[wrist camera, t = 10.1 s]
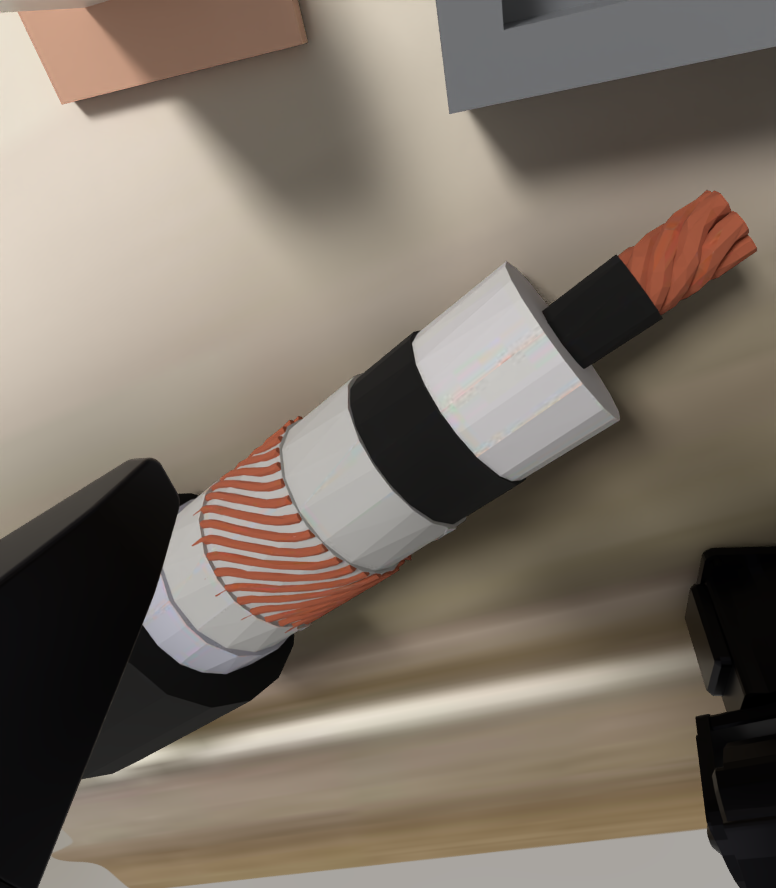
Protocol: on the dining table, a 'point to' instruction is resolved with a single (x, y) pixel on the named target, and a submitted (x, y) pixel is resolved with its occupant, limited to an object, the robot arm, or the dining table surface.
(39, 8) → the white block
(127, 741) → the cable
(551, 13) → the grey hollow box
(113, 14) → the coaster
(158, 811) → the dining table surface
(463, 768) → the dining table surface
